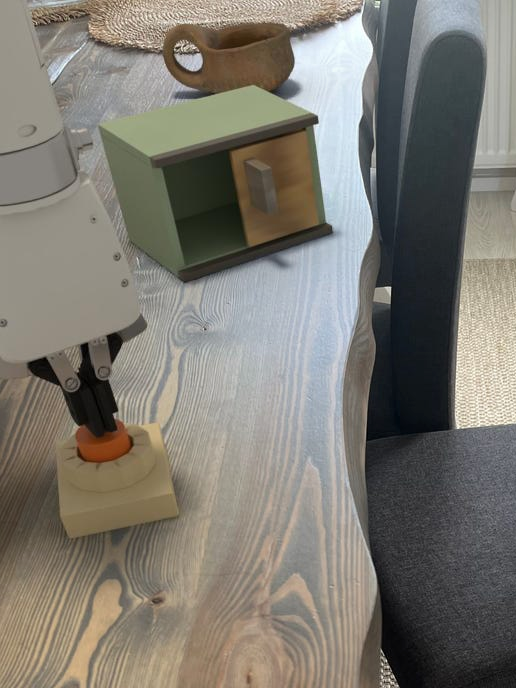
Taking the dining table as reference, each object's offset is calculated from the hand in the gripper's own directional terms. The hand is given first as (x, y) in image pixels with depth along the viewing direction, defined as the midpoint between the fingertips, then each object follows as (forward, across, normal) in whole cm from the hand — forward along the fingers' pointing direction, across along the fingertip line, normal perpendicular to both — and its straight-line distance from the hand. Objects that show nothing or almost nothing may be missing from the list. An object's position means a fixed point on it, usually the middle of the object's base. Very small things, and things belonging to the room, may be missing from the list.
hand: (99, 426), depth 74 cm
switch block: (+6, 0, 0) cm, 6 cm away
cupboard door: (+5, -32, -28) cm, 43 cm away
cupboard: (+6, -29, -36) cm, 47 cm away
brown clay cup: (+6, -53, -78) cm, 95 cm away
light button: (+2, 0, 0) cm, 2 cm away
